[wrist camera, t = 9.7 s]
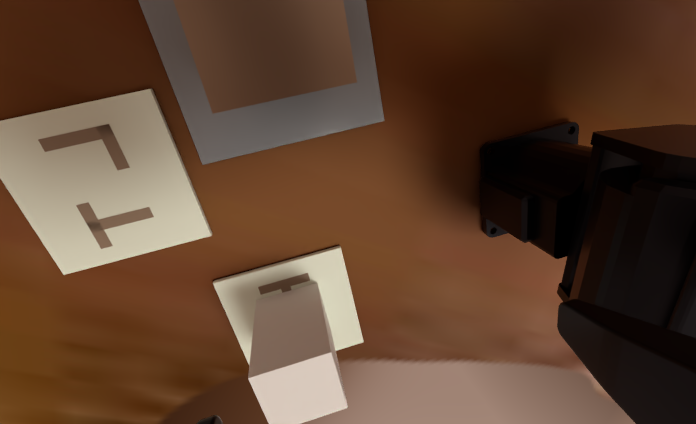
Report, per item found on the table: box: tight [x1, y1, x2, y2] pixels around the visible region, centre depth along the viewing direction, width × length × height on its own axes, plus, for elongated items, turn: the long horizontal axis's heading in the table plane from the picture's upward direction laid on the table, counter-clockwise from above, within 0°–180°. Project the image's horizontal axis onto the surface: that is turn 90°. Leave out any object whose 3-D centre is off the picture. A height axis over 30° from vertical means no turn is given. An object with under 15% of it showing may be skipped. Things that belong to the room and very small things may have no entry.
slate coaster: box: [138, 0, 384, 165], centre depth 16 cm, size 10×10×1 cm
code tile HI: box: [213, 246, 364, 365], centre depth 22 cm, size 8×8×1 cm
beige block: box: [248, 283, 348, 424], centre depth 19 cm, size 4×4×6 cm
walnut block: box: [173, 0, 357, 114], centre depth 13 cm, size 5×5×6 cm
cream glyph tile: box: [0, 89, 212, 275], centre depth 17 cm, size 8×8×1 cm
